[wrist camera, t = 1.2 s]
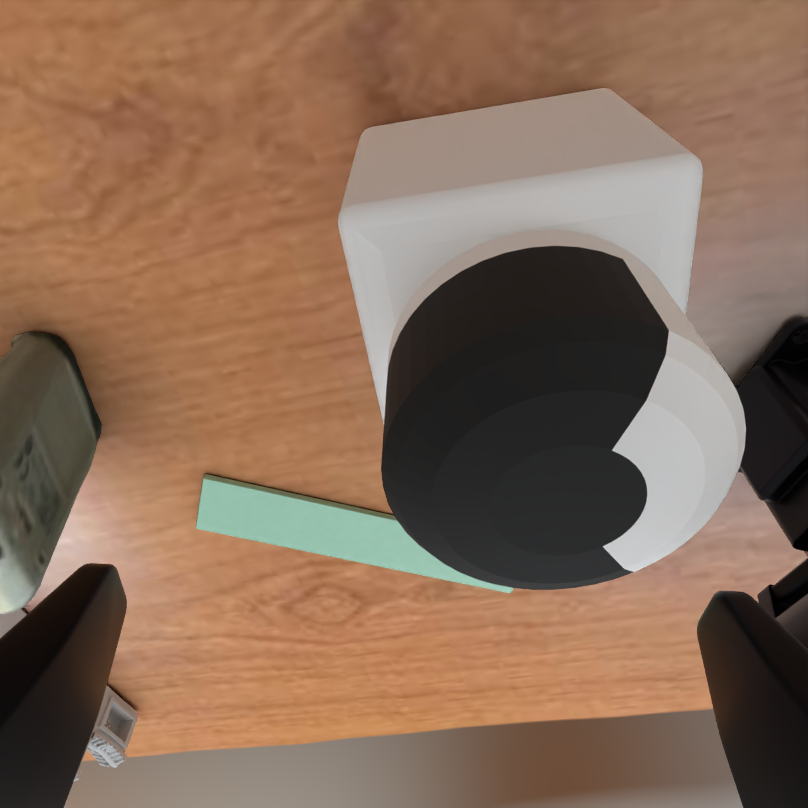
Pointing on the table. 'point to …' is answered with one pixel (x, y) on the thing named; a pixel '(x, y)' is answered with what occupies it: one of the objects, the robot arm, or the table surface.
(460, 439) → the security camera
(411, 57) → the table surface
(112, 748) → the garden wall model
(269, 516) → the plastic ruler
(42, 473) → the beige rounded chunk
